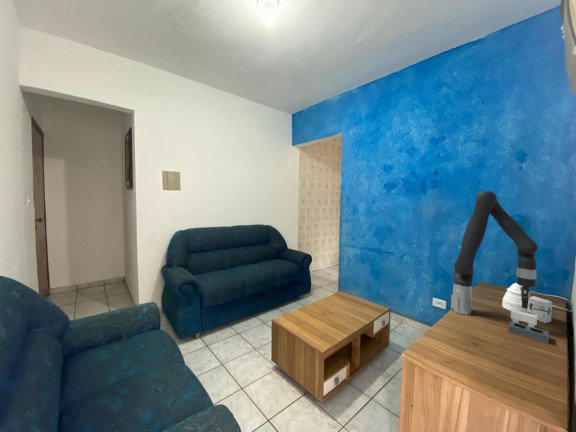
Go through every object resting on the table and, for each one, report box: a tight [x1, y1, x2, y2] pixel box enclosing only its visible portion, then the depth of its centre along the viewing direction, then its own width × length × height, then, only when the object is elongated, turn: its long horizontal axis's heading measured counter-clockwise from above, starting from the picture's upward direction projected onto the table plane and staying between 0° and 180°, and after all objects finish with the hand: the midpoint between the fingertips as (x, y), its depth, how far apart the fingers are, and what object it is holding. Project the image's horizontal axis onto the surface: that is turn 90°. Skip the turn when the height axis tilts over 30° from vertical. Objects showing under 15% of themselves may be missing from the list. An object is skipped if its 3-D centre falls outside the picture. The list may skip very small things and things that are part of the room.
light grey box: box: [510, 310, 538, 327], centre depth 127 cm, size 10×3×7 cm, turn 42°
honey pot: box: [501, 282, 528, 313], centre depth 147 cm, size 13×13×18 cm
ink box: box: [527, 295, 553, 324], centre depth 134 cm, size 8×5×12 cm, turn 17°
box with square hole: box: [507, 320, 550, 344], centre depth 119 cm, size 14×7×4 cm, turn 42°
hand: (525, 305), depth 127 cm, fingers open, 8 cm apart
